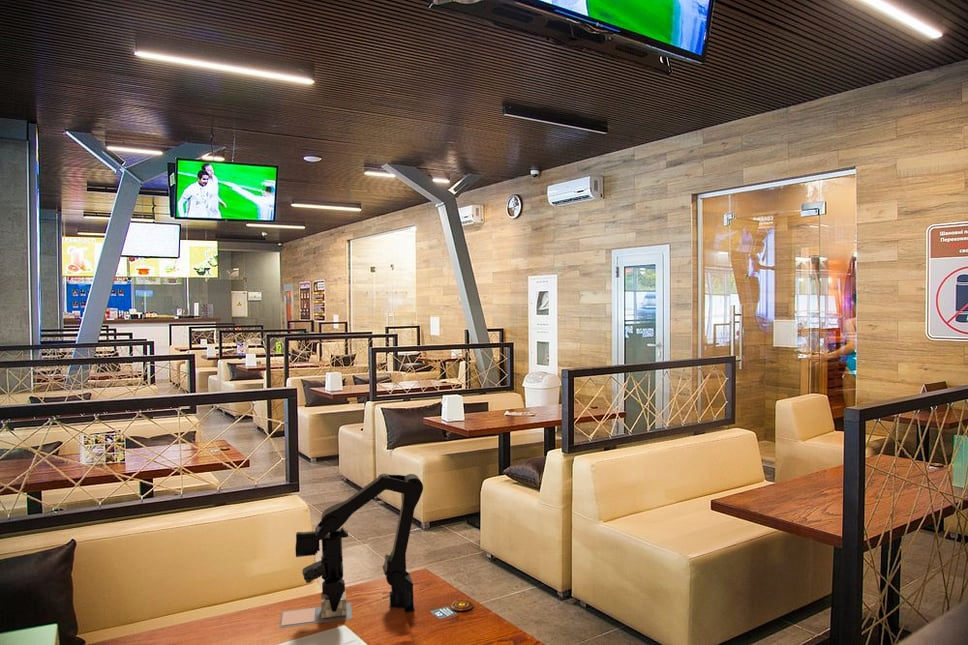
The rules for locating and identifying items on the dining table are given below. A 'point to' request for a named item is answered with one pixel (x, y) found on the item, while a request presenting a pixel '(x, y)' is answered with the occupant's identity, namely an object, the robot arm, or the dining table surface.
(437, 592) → the dining table surface
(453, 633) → the dining table surface
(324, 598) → the beige square hollow block
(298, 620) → the stand board
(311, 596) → the dining table surface
